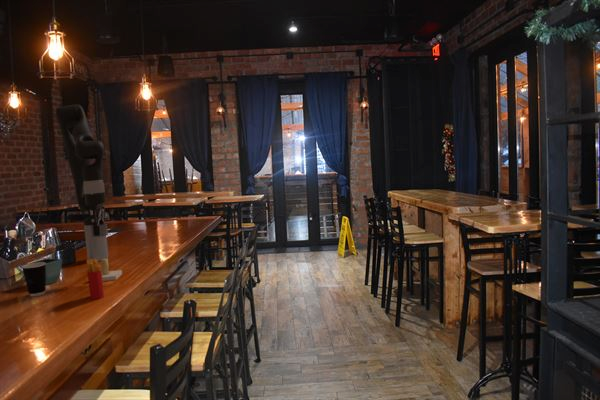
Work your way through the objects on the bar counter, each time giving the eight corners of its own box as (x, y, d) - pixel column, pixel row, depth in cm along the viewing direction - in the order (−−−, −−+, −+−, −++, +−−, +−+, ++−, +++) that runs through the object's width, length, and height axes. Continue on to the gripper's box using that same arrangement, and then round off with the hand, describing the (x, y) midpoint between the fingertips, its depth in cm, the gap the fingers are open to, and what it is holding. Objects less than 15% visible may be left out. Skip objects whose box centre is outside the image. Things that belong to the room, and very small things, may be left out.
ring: (93, 235, 196) (92, 224, 196) (109, 233, 197) (108, 222, 196) (89, 237, 190) (88, 226, 190) (105, 236, 191) (104, 224, 190)
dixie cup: (51, 290, 182) (47, 261, 181) (48, 295, 175) (44, 265, 174) (27, 293, 180) (23, 264, 178) (23, 299, 172) (19, 268, 171)
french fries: (103, 299, 165) (99, 261, 163) (89, 301, 163) (85, 262, 162) (104, 292, 173) (100, 256, 172) (91, 294, 172) (87, 257, 171)
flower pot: (64, 280, 196) (62, 258, 195) (47, 286, 188) (44, 263, 187) (47, 280, 199) (45, 258, 198) (29, 286, 191) (26, 263, 190)
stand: (96, 276, 200) (94, 258, 199) (122, 273, 201) (120, 255, 200) (89, 282, 190) (87, 263, 189) (116, 279, 191) (114, 260, 190)
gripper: (90, 191, 199) (94, 232, 200) (78, 194, 184) (83, 238, 186) (109, 190, 199) (113, 230, 201) (99, 192, 185) (104, 236, 187)
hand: (99, 234), depth 193 cm, fingers closed on ring, 6 cm apart
